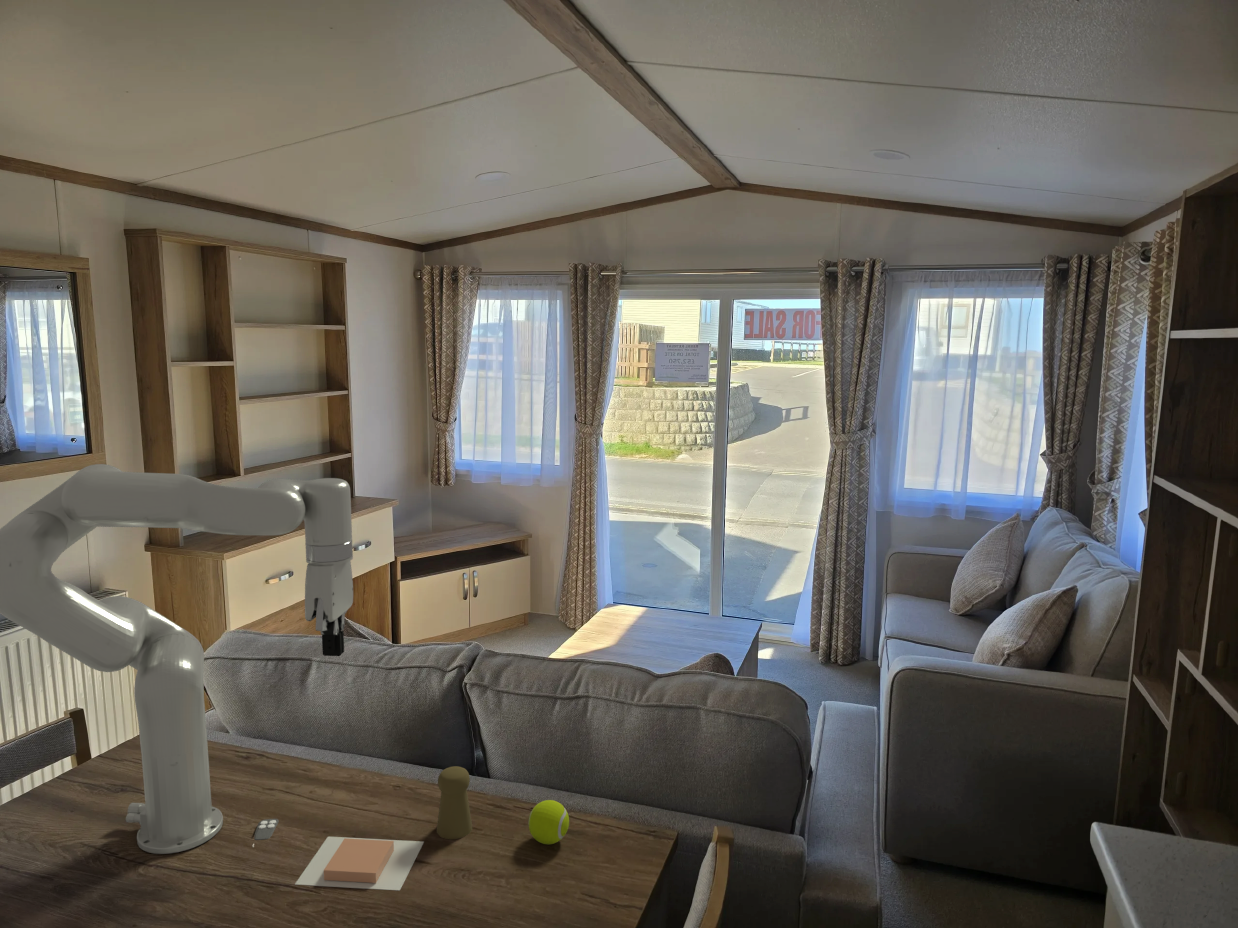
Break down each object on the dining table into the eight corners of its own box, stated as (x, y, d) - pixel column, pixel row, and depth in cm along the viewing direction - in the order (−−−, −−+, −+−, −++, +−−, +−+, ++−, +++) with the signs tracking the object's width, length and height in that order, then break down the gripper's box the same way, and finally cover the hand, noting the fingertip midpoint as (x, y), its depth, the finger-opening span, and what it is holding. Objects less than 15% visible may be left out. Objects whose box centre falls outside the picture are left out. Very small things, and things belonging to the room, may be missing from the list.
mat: (295, 887, 124) (294, 883, 124) (328, 839, 136) (327, 836, 136) (399, 893, 123) (399, 889, 123) (424, 844, 135) (423, 841, 135)
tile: (344, 848, 133) (324, 880, 125) (344, 838, 133) (323, 869, 125) (393, 850, 132) (376, 883, 124) (393, 840, 132) (375, 872, 124)
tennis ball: (539, 825, 141) (539, 788, 140) (575, 833, 139) (575, 796, 138) (521, 847, 135) (521, 809, 134) (558, 856, 132) (558, 818, 131)
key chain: (257, 826, 140) (257, 818, 140) (281, 824, 141) (280, 816, 141) (236, 874, 128) (236, 866, 127) (262, 872, 128) (262, 863, 128)
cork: (464, 844, 135) (463, 782, 133) (430, 839, 136) (428, 777, 135) (478, 823, 141) (477, 763, 139) (445, 819, 142) (443, 759, 140)
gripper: (326, 540, 149) (330, 637, 151) (287, 562, 134) (292, 670, 137) (367, 541, 148) (370, 639, 151) (333, 563, 133) (337, 672, 136)
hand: (333, 653), depth 144 cm, fingers closed
